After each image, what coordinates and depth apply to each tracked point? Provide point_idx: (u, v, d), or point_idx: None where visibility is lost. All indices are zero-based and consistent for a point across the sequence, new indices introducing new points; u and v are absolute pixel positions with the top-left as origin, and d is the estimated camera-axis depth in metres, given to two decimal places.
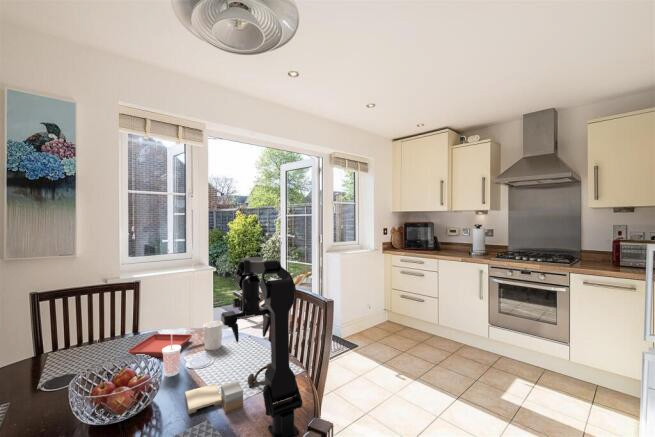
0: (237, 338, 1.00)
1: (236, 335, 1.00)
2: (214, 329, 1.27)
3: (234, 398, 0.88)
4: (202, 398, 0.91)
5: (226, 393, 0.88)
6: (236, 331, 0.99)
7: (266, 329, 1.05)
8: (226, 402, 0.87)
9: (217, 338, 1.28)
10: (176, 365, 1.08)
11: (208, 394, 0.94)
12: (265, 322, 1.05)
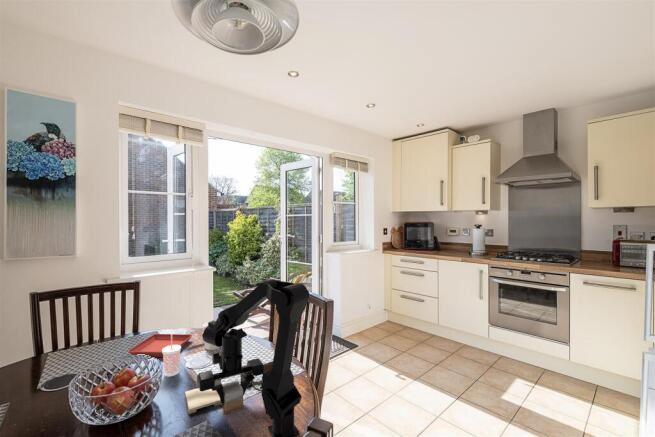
0: (222, 401, 0.88)
1: (221, 398, 0.88)
2: None
3: (234, 398, 0.88)
4: (202, 398, 0.91)
5: (226, 393, 0.88)
6: (221, 394, 0.87)
7: (243, 391, 0.91)
8: (226, 402, 0.87)
9: None
10: (176, 365, 1.08)
11: (208, 394, 0.94)
12: (242, 383, 0.91)
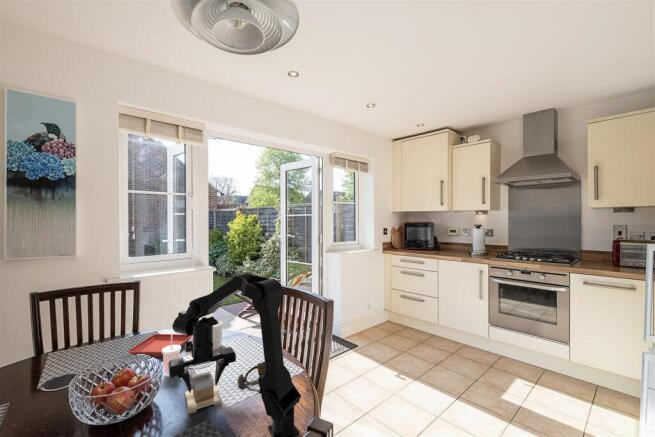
0: (189, 388, 0.90)
1: (188, 385, 0.89)
2: (214, 329, 1.27)
3: (204, 387, 0.90)
4: None
5: (196, 382, 0.90)
6: (187, 381, 0.89)
7: (218, 377, 0.94)
8: (196, 391, 0.89)
9: (217, 338, 1.28)
10: None
11: None
12: (217, 369, 0.94)
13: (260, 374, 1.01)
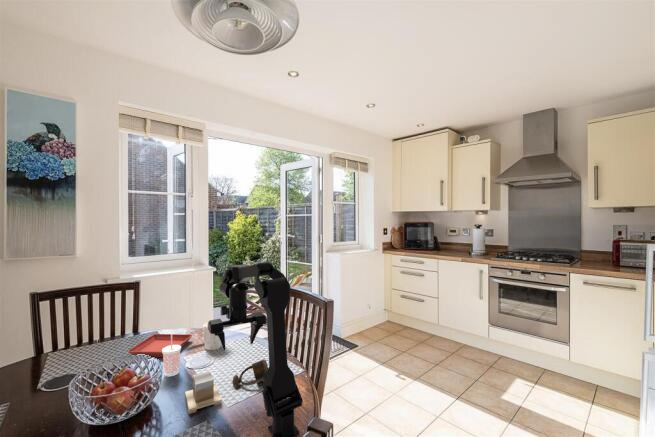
0: (224, 346, 1.00)
1: (223, 343, 0.99)
2: None
3: (204, 387, 0.90)
4: None
5: (196, 382, 0.90)
6: (223, 339, 0.99)
7: (253, 337, 1.05)
8: (196, 391, 0.89)
9: (217, 338, 1.28)
10: (176, 365, 1.08)
11: None
12: (252, 330, 1.05)
13: (255, 374, 1.01)
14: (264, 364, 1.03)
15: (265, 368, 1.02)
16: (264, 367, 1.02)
